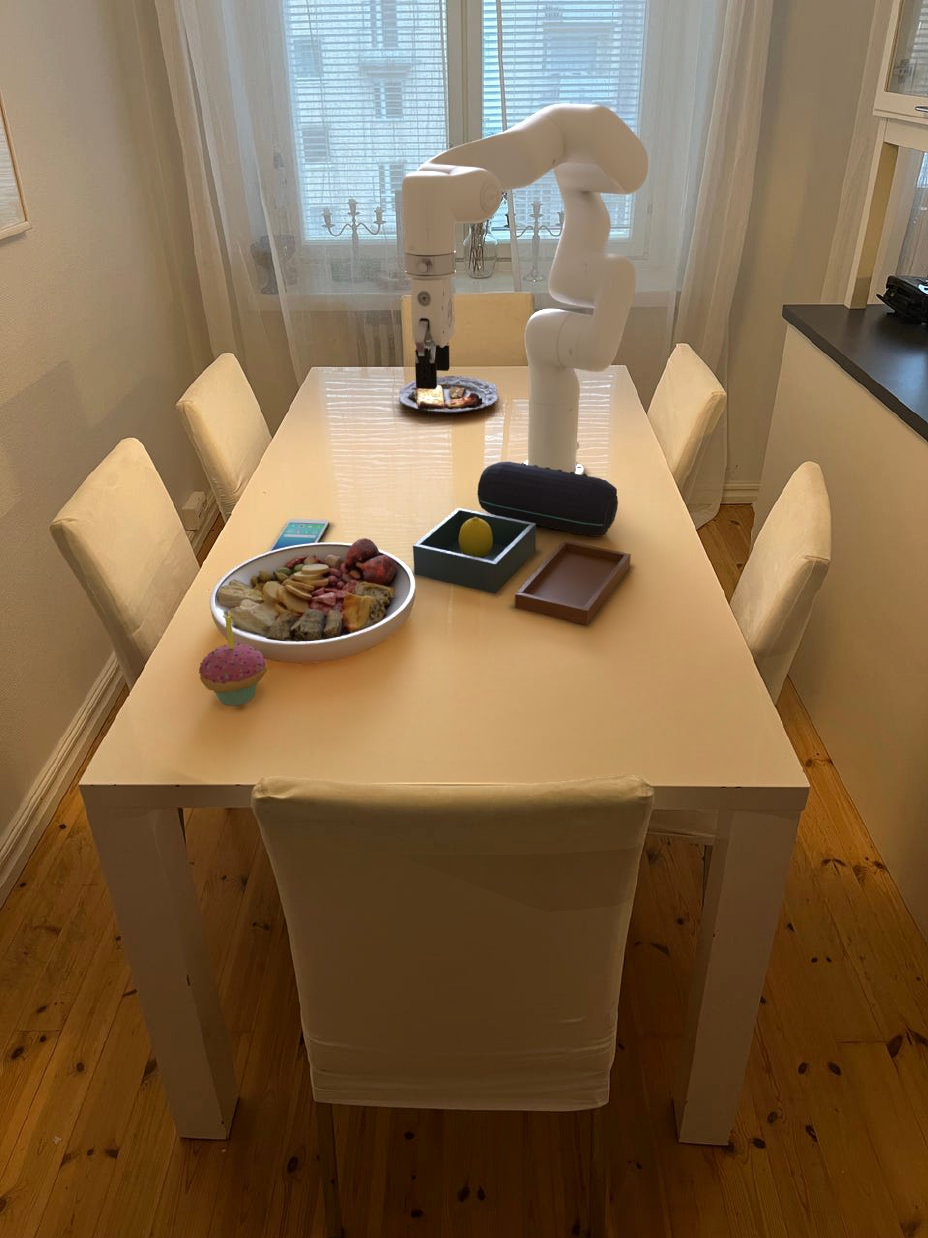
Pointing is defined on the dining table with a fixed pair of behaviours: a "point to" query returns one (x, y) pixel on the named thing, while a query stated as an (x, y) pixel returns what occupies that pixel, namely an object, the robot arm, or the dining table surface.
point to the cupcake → (233, 670)
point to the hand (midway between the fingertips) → (433, 378)
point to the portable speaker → (548, 497)
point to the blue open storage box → (449, 564)
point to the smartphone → (301, 533)
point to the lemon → (475, 538)
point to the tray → (573, 582)
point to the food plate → (450, 395)
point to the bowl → (315, 600)
